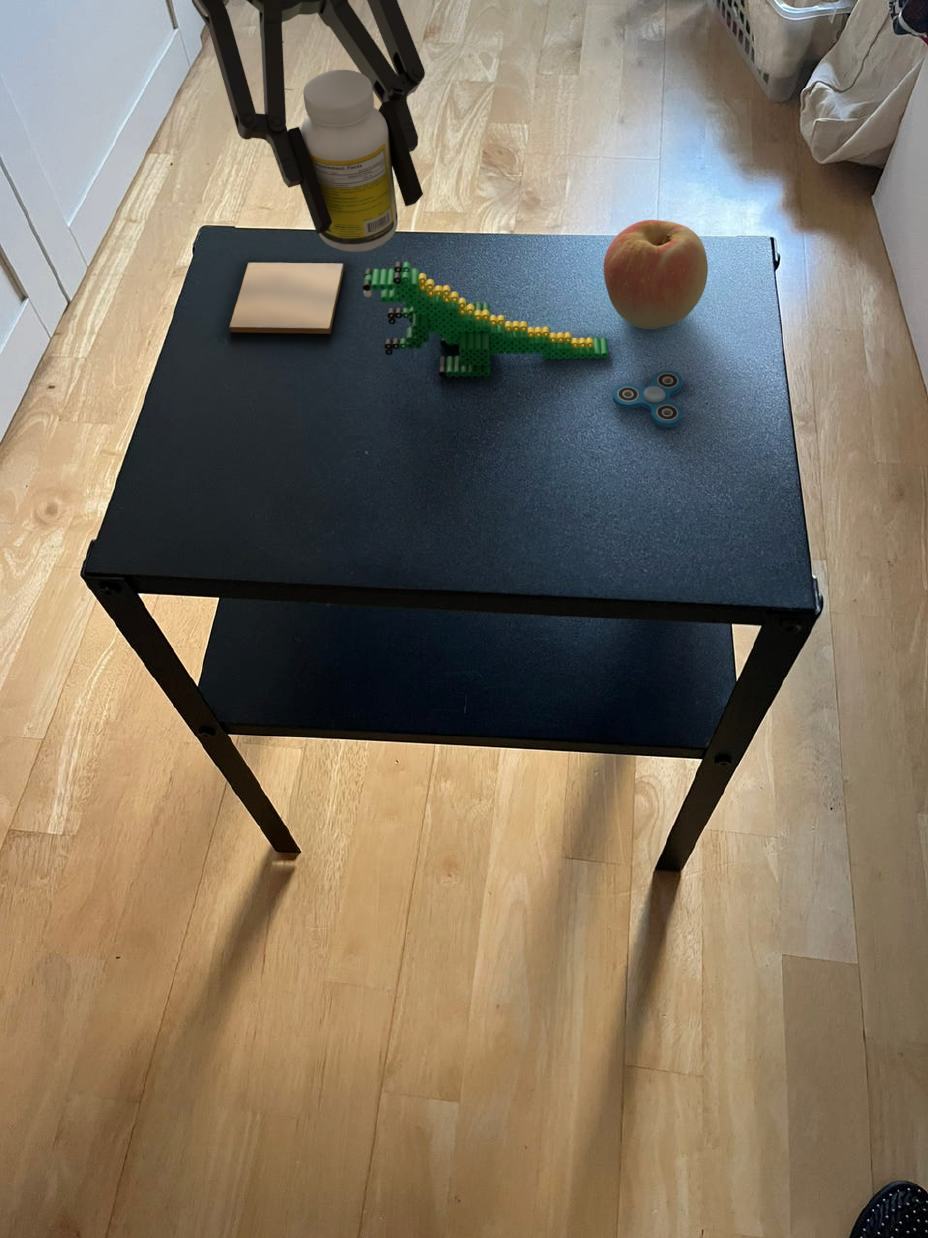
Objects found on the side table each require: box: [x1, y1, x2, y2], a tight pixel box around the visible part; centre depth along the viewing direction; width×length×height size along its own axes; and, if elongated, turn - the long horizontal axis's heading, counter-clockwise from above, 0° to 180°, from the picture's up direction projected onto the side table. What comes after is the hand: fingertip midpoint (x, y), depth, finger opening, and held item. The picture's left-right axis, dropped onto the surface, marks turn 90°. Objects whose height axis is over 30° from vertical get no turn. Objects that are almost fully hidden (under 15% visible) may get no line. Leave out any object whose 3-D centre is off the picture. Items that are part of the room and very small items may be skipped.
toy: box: [612, 369, 684, 428], centre depth 85 cm, size 6×6×1 cm
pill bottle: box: [300, 69, 399, 253], centre depth 74 cm, size 6×6×11 cm
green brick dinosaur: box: [362, 261, 609, 378], centre depth 86 cm, size 20×6×9 cm, turn 89°
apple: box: [603, 219, 709, 330], centre depth 88 cm, size 9×9×8 cm
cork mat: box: [229, 262, 345, 335], centre depth 94 cm, size 9×9×1 cm
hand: (369, 213), depth 74 cm, fingers closed on pill bottle, 6 cm apart
